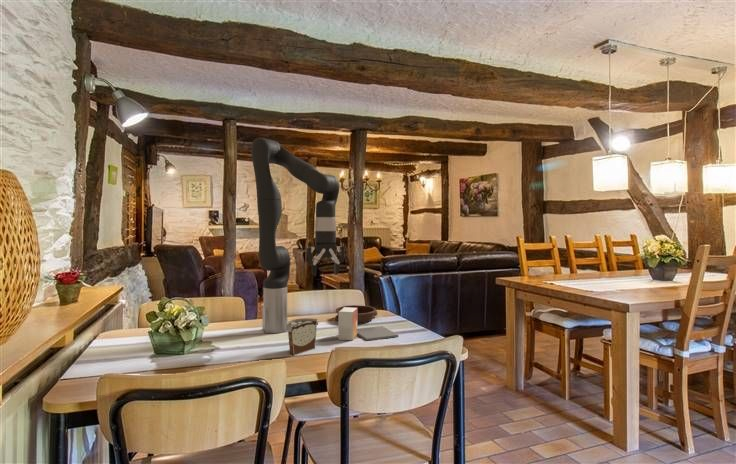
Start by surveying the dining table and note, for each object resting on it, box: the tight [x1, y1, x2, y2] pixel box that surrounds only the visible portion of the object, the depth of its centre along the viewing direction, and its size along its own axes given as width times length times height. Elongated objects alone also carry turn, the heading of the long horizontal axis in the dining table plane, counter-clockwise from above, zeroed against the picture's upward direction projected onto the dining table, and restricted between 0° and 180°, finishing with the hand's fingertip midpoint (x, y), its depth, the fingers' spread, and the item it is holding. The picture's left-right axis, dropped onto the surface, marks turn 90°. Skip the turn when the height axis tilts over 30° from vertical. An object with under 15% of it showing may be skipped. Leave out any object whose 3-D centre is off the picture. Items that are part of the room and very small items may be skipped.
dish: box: [334, 304, 378, 324], centre depth 185 cm, size 18×22×5 cm
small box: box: [337, 307, 358, 341], centre depth 158 cm, size 8×6×10 cm
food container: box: [286, 317, 319, 356], centre depth 142 cm, size 12×6×10 cm, turn 141°
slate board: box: [357, 325, 399, 342], centre depth 163 cm, size 13×14×1 cm
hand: (325, 274), depth 154 cm, fingers open, 7 cm apart
